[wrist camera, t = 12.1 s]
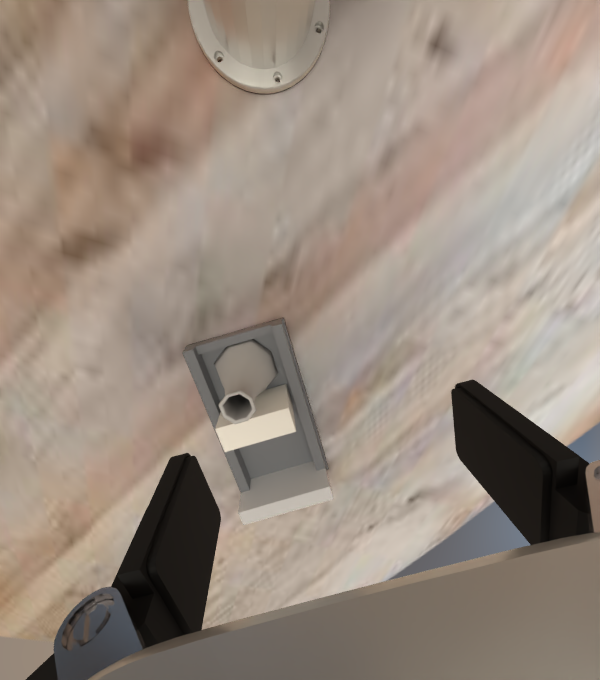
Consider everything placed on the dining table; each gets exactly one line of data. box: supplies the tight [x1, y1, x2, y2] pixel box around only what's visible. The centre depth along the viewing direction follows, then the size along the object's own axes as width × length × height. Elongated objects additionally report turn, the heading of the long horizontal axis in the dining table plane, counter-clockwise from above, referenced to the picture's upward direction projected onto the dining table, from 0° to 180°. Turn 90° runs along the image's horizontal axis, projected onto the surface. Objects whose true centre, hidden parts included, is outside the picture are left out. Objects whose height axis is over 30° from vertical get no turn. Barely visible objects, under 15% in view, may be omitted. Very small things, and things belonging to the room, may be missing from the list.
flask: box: [214, 339, 278, 424], centre depth 33 cm, size 7×7×10 cm
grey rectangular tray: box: [182, 318, 334, 525], centre depth 37 cm, size 22×12×6 cm, turn 16°
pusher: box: [215, 384, 296, 452], centre depth 36 cm, size 3×8×6 cm, turn 106°
